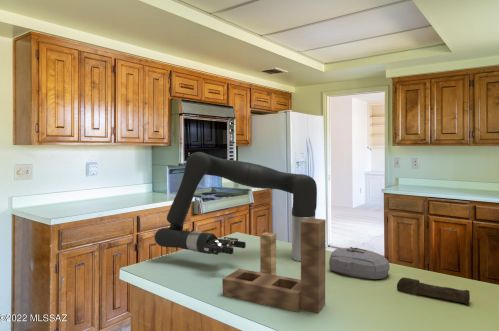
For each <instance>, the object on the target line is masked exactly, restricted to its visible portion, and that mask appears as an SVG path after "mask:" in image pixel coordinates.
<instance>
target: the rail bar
mask: <svg viewBox="0 0 499 331" xmlns="http://www.w3.org/2000/svg"><path fill="white" fill-rule="evenodd" d="M259 237H260V238H259V240H260V244H259V254H260V258H259V260H260V261H259V263H260V264H259V266H260V269H259V270H260V273H266V274H271V275H277V233H273V232H263V233H261V234H260V235H259Z"/></svg>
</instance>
